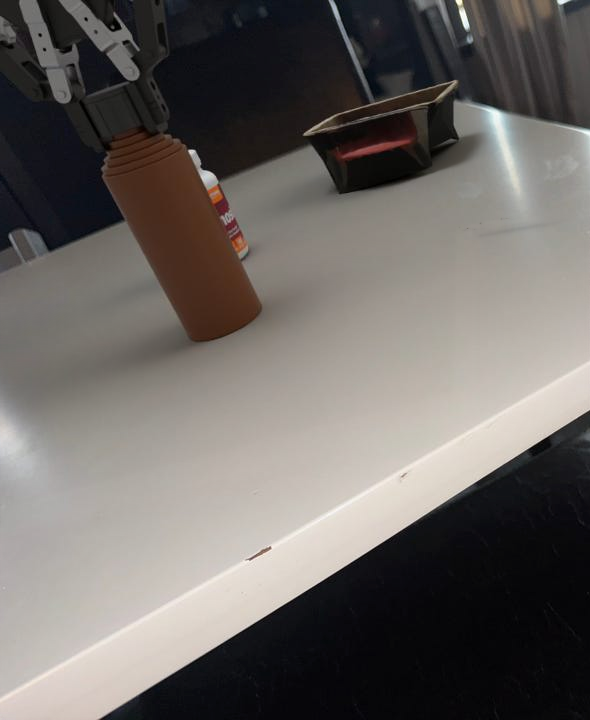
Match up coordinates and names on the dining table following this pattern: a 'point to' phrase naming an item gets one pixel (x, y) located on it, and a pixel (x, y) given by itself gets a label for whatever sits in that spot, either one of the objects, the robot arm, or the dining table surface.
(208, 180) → the pill bottle
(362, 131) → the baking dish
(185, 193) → the sauce bottle
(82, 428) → the dining table surface
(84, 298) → the dining table surface
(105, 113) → the cap
